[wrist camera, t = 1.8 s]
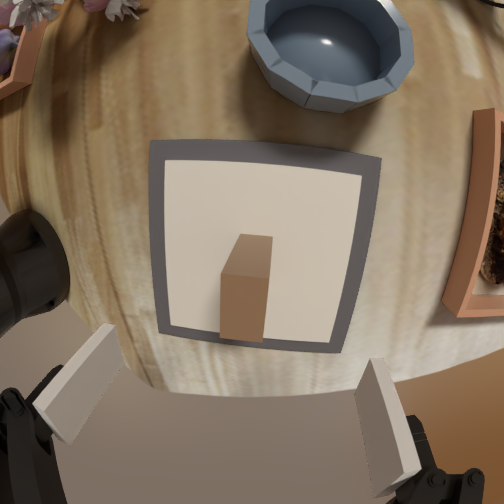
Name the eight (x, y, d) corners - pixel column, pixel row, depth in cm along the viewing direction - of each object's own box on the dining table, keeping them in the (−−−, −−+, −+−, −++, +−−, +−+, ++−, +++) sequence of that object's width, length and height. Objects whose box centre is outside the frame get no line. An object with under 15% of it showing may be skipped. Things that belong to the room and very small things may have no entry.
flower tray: (-12, 107, 23) (-28, 108, 19) (6, 31, 17) (-8, 28, 13) (31, 83, 22) (12, 81, 18) (56, -3, 16) (41, -10, 12)
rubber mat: (160, 330, 31) (158, 332, 31) (152, 140, 24) (149, 140, 23) (339, 350, 30) (340, 353, 30) (379, 158, 22) (381, 158, 22)
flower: (22, 6, 11) (-31, 40, 9) (25, 54, 17) (-27, 87, 15) (40, 14, 18) (-7, 40, 15) (43, 54, 24) (-3, 80, 21)
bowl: (250, 104, 22) (241, 89, 16) (259, -3, 18) (254, -35, 12) (387, 124, 21) (415, 117, 16) (384, 16, 17) (404, -8, 11)
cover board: (172, 322, 30) (139, 377, 21) (167, 160, 24) (111, 165, 15) (328, 339, 29) (341, 403, 20) (360, 175, 23) (404, 187, 14)
